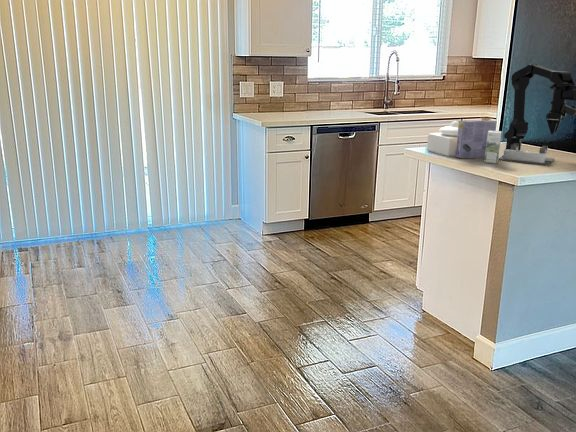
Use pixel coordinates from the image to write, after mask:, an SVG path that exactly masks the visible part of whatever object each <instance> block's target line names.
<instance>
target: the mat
mask: <svg viewBox="0 0 576 432" xmlns="http://www.w3.org/2000/svg"><path fill="white" fill-rule="evenodd" d="M501 160H502V162H503V161H504V162H511V161H512V162H513V163H522V164H531V165H539V166H540V165H541V166H549V165H551V164H552V162H547V161H546V162H545V163H537V162H528V161H519V160H509V159H503V157H502V156H499V159H498V161H501Z"/></svg>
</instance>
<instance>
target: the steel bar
mask: <svg viewBox="0 0 576 432" xmlns="http://www.w3.org/2000/svg"><path fill="white" fill-rule="evenodd" d="M505 149H506V148H505ZM505 149H504V150H503V154H502V156H503V159H509V160H519V161H528V162H537V163H545V162H546V158H547V156H548V152H547V153H539V151H538V152H537V151H526V150H520V151H519V150H509V149H506V150H505Z"/></svg>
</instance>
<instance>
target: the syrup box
mask: <svg viewBox="0 0 576 432" xmlns="http://www.w3.org/2000/svg"><path fill="white" fill-rule="evenodd" d="M502 135H503V131H501V130H495V131H491V130H489V131H488V135H487V144H486V153H485V158H484V161H483V162H484V164H494V165H497V164H498V163H499V160H498V159H499V158H500V149H501V143H502V141H501V140H502Z"/></svg>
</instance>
